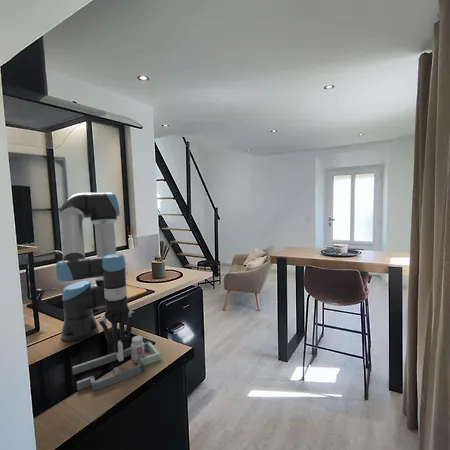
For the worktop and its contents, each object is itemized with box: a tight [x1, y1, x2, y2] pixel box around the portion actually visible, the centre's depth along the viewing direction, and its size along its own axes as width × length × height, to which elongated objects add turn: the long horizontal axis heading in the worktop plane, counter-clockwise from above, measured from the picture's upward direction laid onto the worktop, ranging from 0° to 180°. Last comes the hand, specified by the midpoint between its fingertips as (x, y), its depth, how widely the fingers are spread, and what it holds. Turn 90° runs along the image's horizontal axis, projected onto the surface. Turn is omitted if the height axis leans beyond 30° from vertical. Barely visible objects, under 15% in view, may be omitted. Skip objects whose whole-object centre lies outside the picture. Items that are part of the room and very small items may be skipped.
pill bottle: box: [130, 335, 145, 363], centre depth 107 cm, size 5×5×8 cm
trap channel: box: [72, 341, 161, 392], centre depth 102 cm, size 15×28×2 cm, turn 125°
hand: (120, 359), depth 104 cm, fingers closed
